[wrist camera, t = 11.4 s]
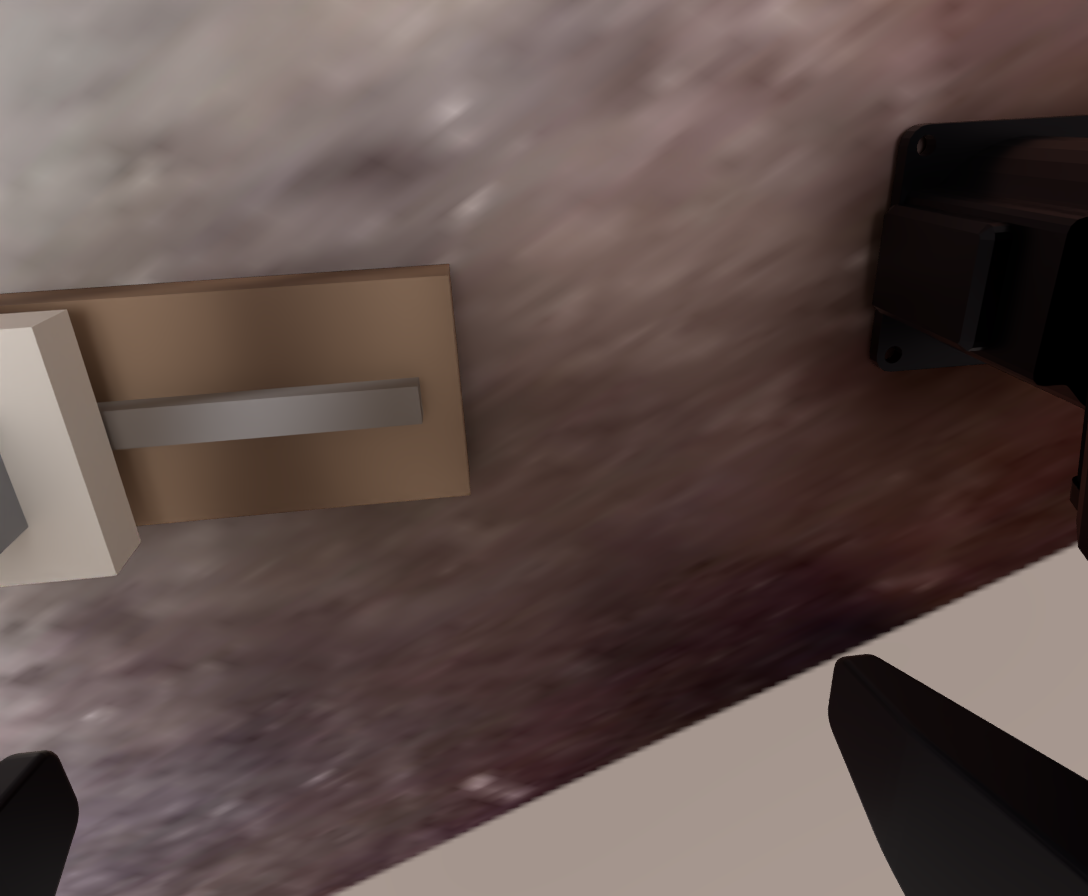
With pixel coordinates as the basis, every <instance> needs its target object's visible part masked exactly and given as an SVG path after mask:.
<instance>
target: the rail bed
mask: <svg viewBox="0 0 1088 896" xmlns="http://www.w3.org/2000/svg"><path fill="white" fill-rule="evenodd" d="M66 309H67V311H68V314H69V318H70V321H71V324H72V327H73V330H74V333H75V336H76V340H77V343H78V346H79V349H80V352H81V355H82V358H83V361H84V365H85V368H86V371H87V374H88V377H89V380H90V383H91V387H92V390H93V393H94V396H95V399H96V402H97V405H98V408H99V412H100V415H101V418H102V421H103V424H104V427H105V430H106V433H107V437H108V440H109V443H110V446H111V449H112V452H113V455H114V459H115V462H116V465H117V468H118V471H119V474H120V477H121V480H122V484H123V487H124V490H125V493H126V496H127V499H128V502H129V505H130V509H131V512H132V515H133V518H134V521H135V524H136V526H142V525H153V524H164V523H174V522H185V521H196V520H207V519H218V518H228V517H239V516H250V515H261V514H272V513H282V512H293V511H304V510H315V509H326V508H336V507H347V506H358V505H369V504H380V503H390V502H401V501H412V500H423V499H434V498H444V497H455V496H466V495H470V475H469V463H468V452H467V442H466V432H465V422H464V412H463V401H462V391H461V381H460V371H459V361H458V350H457V340H456V330H455V320H454V310H453V300H452V289H451V279H450V269H449V264H441V265H426V266H411V267H396V268H381V269H366V270H351V271H336V272H321V273H306V274H291V275H276V276H261V277H246V278H231V279H216V280H201V281H186V282H171V283H156V284H141V285H126V286H112V287H97V288H82V289H67V290H52V291H37V292H22V293H7V294H0V314H8V313H22V312H37V311H51V310H66Z"/></svg>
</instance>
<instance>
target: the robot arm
mask: <svg viewBox="0 0 1088 896" xmlns="http://www.w3.org/2000/svg"><path fill="white" fill-rule="evenodd" d="M923 136H925V138H926V139H927V146H926V149H925V150H924V151H923V152H922V154H920V155H919V153H918V152H917V144H918V142H919V140H920V139H921V138H922V137H923ZM873 305H874V307H875V308H876V310H875V317H874V324H873V331H872V338H871V345H870V360H871V361H872V363H873V364H874V365H876V366H877V367H879V368H881V369H882V370H884V371H890V372H892V371H904V370H916V369H928V368H940V367H952V366H964V365H976V364H989V365H991V366H993V367H995V368H997V369H999V370H1001V371H1004V372H1006V373H1008V374H1010V375H1012V376H1014V377H1016V378H1019V379H1021V380H1023V381H1025V382H1027V383H1029V384H1031V385H1034V386H1036V387H1038V388H1040V389H1042V390H1044V391H1046V392H1049V393H1051V394H1053V395H1055V396H1057V397H1059V398H1061V399H1064V400H1066V401H1068V402H1070V403H1072V404H1074V405H1076V406H1079V407H1081V408H1083V409H1085V415H1084V424H1083V433H1082V441H1081V450H1080V459H1079V468H1078V476H1075V477H1073V479H1072V483H1071V492H1070V501H1071V503H1072V504H1073V505H1074V507H1075V508H1076V510H1077V519H1076V524H1077V538H1078V548H1079V549H1080V551H1081V552H1082V553H1083V555H1084V556H1085V558H1086V559H1087V560H1088V115H1075V116H1057V117H1038V118H1020V119H1001V120H983V121H964V122H946V123H928V124H918V125H915V126H913V127H911V128H910V129H908V130H907V131H906V132H905V134H904V135H903V137H902V138H901V141H900V145H899V150H898V157H897V164H896V170H895V177H894V184H893V191H892V198H891V205H890V209H889V210H888V212H887V213H886V214H885V217H884V223H883V230H882V237H881V245H880V252H879V259H878V266H877V273H876V280H875V287H874V294H873ZM893 346H894V349H895V350H894V353H893V355H892V356H891V357H890V358H887V359H885V354H886V351H887V350H888V349H889V348H890V347H893ZM828 716H829V722H830V726H831V729H832V732H833V734H834V737H835V739H836V742H837V744H838V746H839V749H840V751H841V754H842V756H843V759H844V761H845V763H846V766H847V768H848V771H849V773H850V776H851V778H852V780H853V783H854V785H855V788H856V790H857V793H858V795H859V797H860V800H861V802H862V805H863V807H864V810H865V812H866V814H867V817H868V819H869V822H870V824H871V827H872V829H873V831H874V834H875V836H876V838H877V841H878V843H879V845H880V847H881V850H882V852H883V854H884V856H885V858H886V860H887V862H888V864H889V866H890V868H891V870H892V872H893V874H894V875H895V877H896V879H897V881H898V883H899V885H900V887H901V889H902V891H903V892H904V894H905V896H1088V780H1086V779H1085V778H1083V777H1081V776H1080V775H1078V774H1076V773H1075V772H1073V771H1071V770H1069V769H1068V768H1066V767H1064V766H1063V765H1061V764H1059V763H1057V762H1056V761H1054V760H1052V759H1051V758H1049V757H1047V756H1046V755H1044V754H1042V753H1040V752H1039V751H1037V750H1035V749H1034V748H1032V747H1030V746H1028V745H1027V744H1025V743H1023V742H1022V741H1020V740H1018V739H1016V738H1015V737H1013V736H1011V735H1010V734H1008V733H1006V732H1005V731H1003V730H1001V729H1000V728H998V727H996V726H994V725H993V724H991V723H989V722H987V721H986V720H984V719H982V718H980V717H979V716H977V715H976V714H974V713H972V712H971V711H969V710H967V709H965V708H964V707H962V706H960V705H958V704H957V703H955V702H953V701H952V700H950V699H948V698H947V697H945V696H943V695H942V694H940V693H938V692H936V691H935V690H933V689H931V688H929V687H928V686H926V685H924V684H923V683H921V682H919V681H918V680H916V679H914V678H912V677H911V676H909V675H907V674H906V673H904V672H902V671H901V670H899V669H897V668H895V667H894V666H892V665H890V664H889V663H887V662H885V661H884V660H882V659H880V658H878V657H876V656H874V655H870V654H864V655H855V656H846V657H842V658H840V659H838V660H837V662H836V663H835V667H834V673H833V679H832V686H831V692H830V699H829V706H828ZM78 816H79V807H78V801H77V798H76V796H75V794H74V791H73V789H72V787H71V784H70V782H69V780H68V778H67V775H66V773H65V771H64V768H63V766H62V764H61V762H60V759H59V758H58V756H57V755H56V754H55V753H53V752H52V751H47V750H43V751H35V752H26V753H18V754H14V755H11V756H9V757H7V758H5V759H4V760H2V761H1V762H0V896H55V894H56V891H57V888H58V885H59V882H60V878H61V875H62V872H63V869H64V865H65V862H66V859H67V856H68V853H69V849H70V846H71V843H72V840H73V836H74V833H75V830H76V827H77V823H78Z"/></svg>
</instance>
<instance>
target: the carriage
mask: <svg viewBox="0 0 1088 896" xmlns="http://www.w3.org/2000/svg"><path fill="white" fill-rule="evenodd" d="M140 543H141V540H140V537H139V534H138V531H137V527H136V524H135V521H134V518H133V515H132V512H131V509H130V505H129V502H128V499H127V496H126V493H125V490H124V487H123V484H122V480H121V477H120V474H119V471H118V468H117V465H116V462H115V459H114V455H113V452H112V449H111V446H110V443H109V440H108V437H107V433H106V430H105V427H104V424H103V421H102V418H101V415H100V412H99V408H98V405H97V402H96V399H95V396H94V393H93V390H92V387H91V383H90V380H89V377H88V374H87V371H86V368H85V365H84V361H83V358H82V355H81V352H80V349H79V346H78V343H77V340H76V336H75V333H74V330H73V327H72V324H71V321H70V318H69V314H68V311H67V309H66V310H51V311H37V312H22V313H8V314H0V587H5V586H15V585H25V584H36V583H46V582H56V581H66V580H77V579H87V578H97V577H107V576H117V575H118V573H119V572H120V570H121V569H122V568H123V566H124V565H125V564H126V562H127V561H128V560H129V558H130V557H131V555H132V554H133V553H134V551H135V550H136V549H137V547H138V546H139V545H140Z"/></svg>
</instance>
